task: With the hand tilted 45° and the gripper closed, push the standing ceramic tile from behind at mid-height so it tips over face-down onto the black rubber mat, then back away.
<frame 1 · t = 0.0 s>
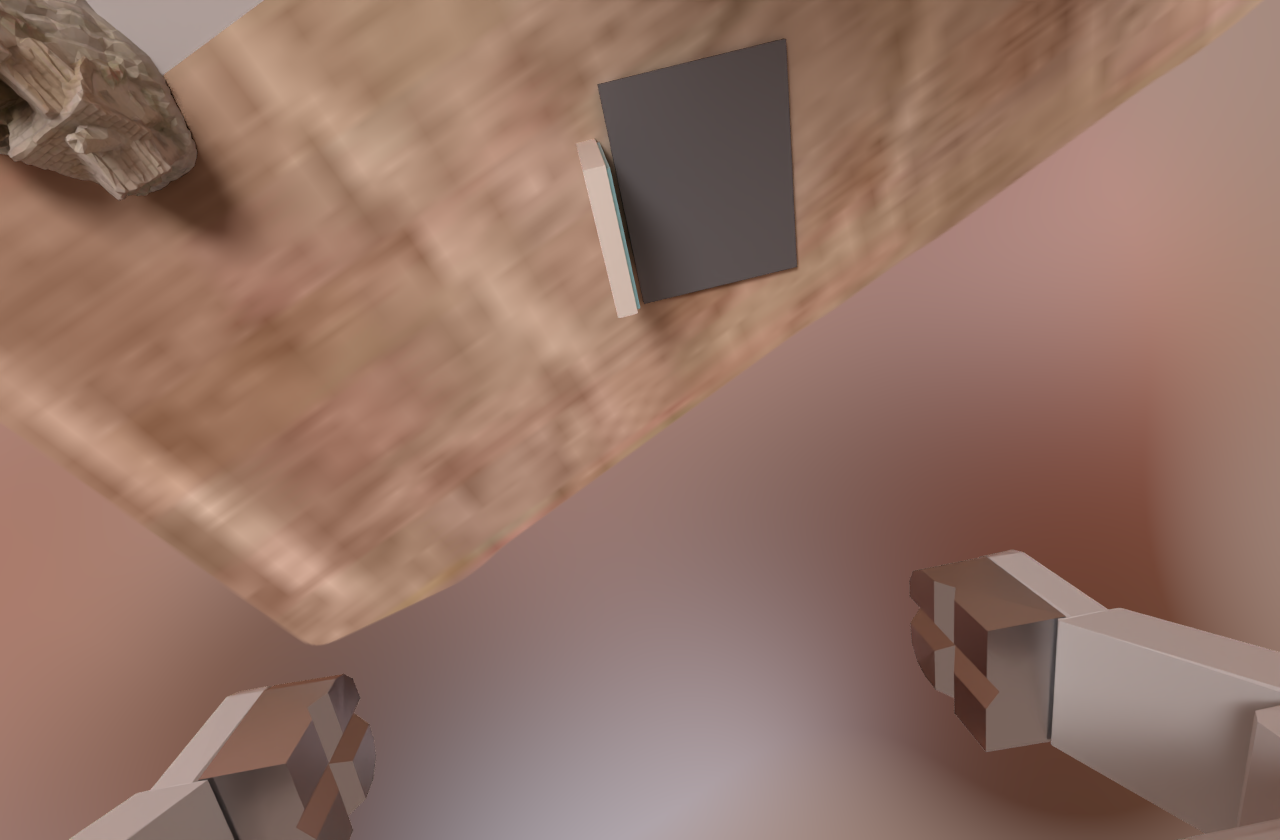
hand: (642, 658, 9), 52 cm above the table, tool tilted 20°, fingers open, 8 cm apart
mat: (706, 183, 56), on the table
tile: (602, 208, 56), on the table
grey lumpy piece: (60, 98, 46), on the table
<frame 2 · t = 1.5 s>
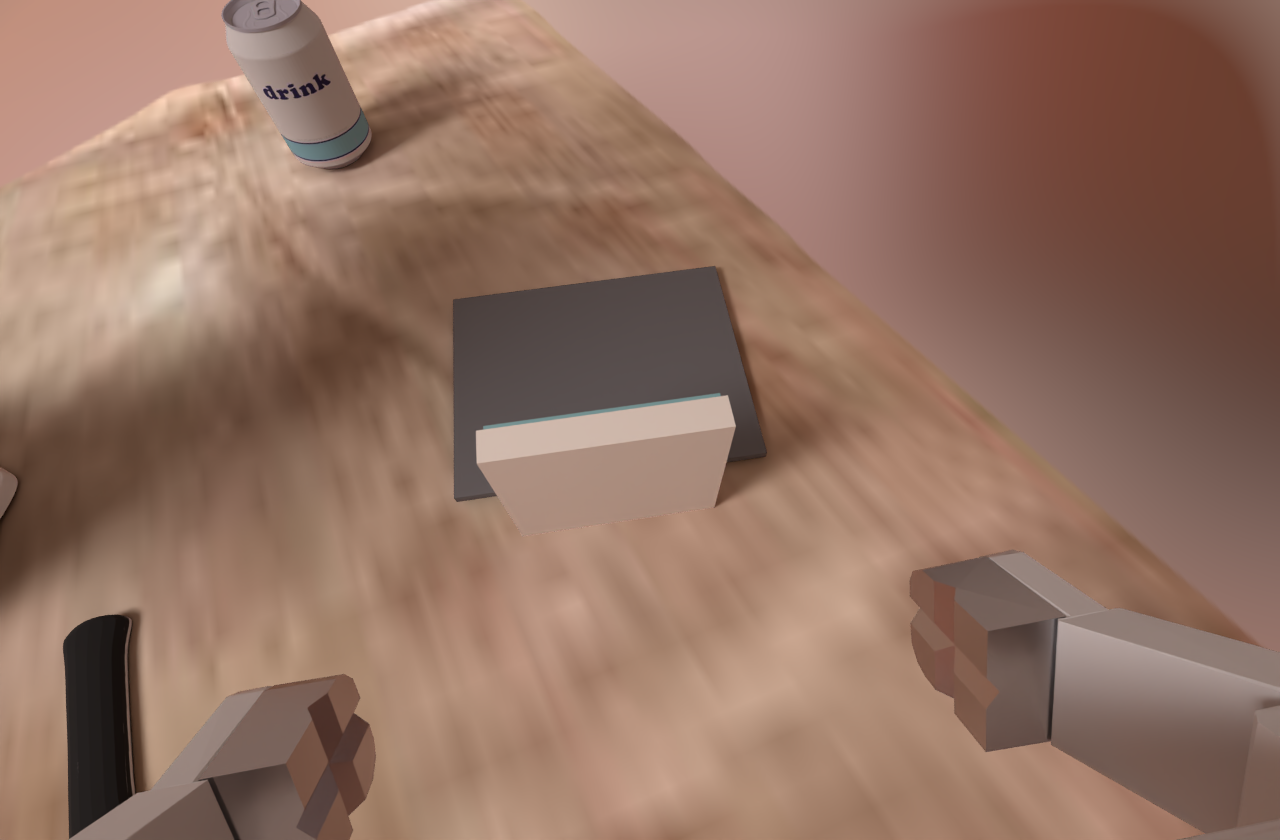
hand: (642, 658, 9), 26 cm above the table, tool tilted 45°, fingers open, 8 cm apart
mat: (598, 374, 42), on the table
beverage can: (338, 152, 54), on the table
tile: (617, 506, 38), on the table
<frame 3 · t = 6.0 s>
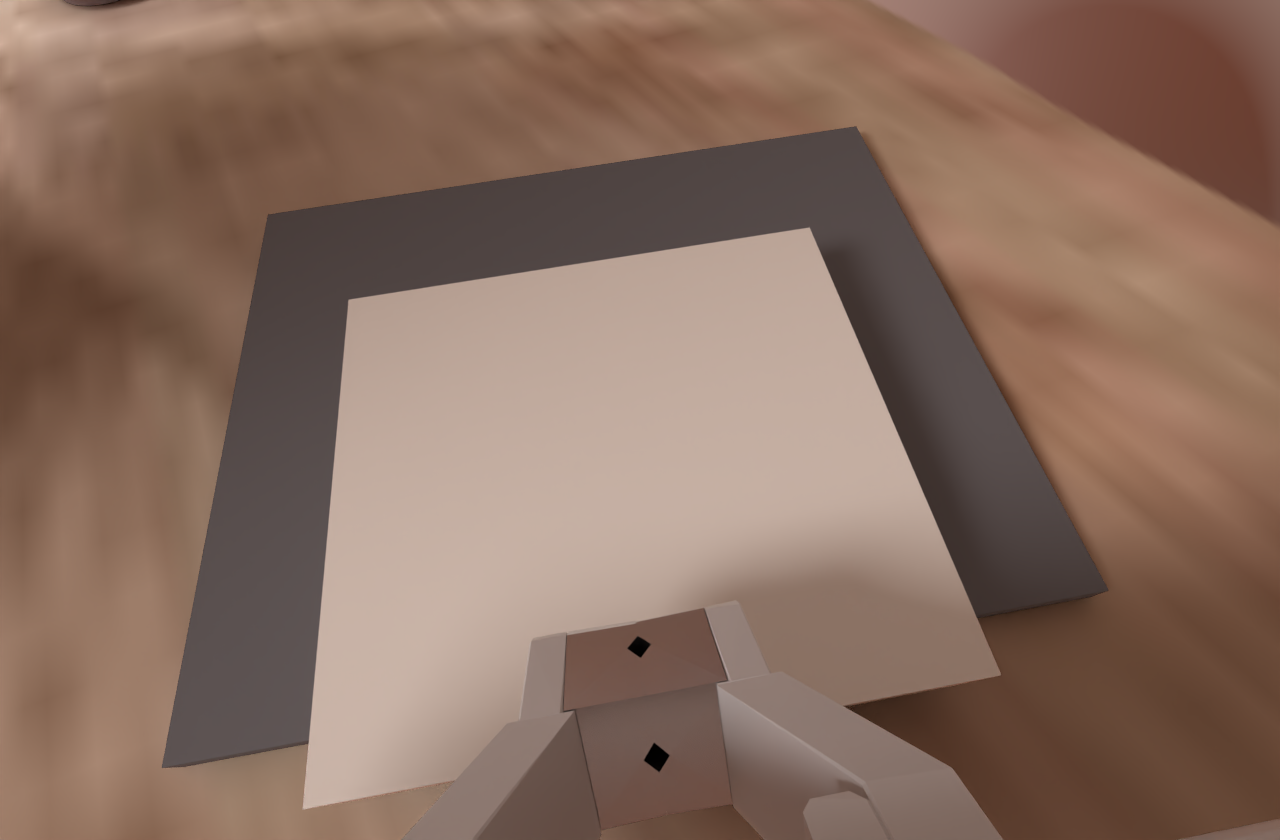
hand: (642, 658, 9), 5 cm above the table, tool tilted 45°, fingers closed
mat: (602, 375, 17), on the table
tile: (661, 741, 11), point 2 cm above the table, tilted 90°, touching mat
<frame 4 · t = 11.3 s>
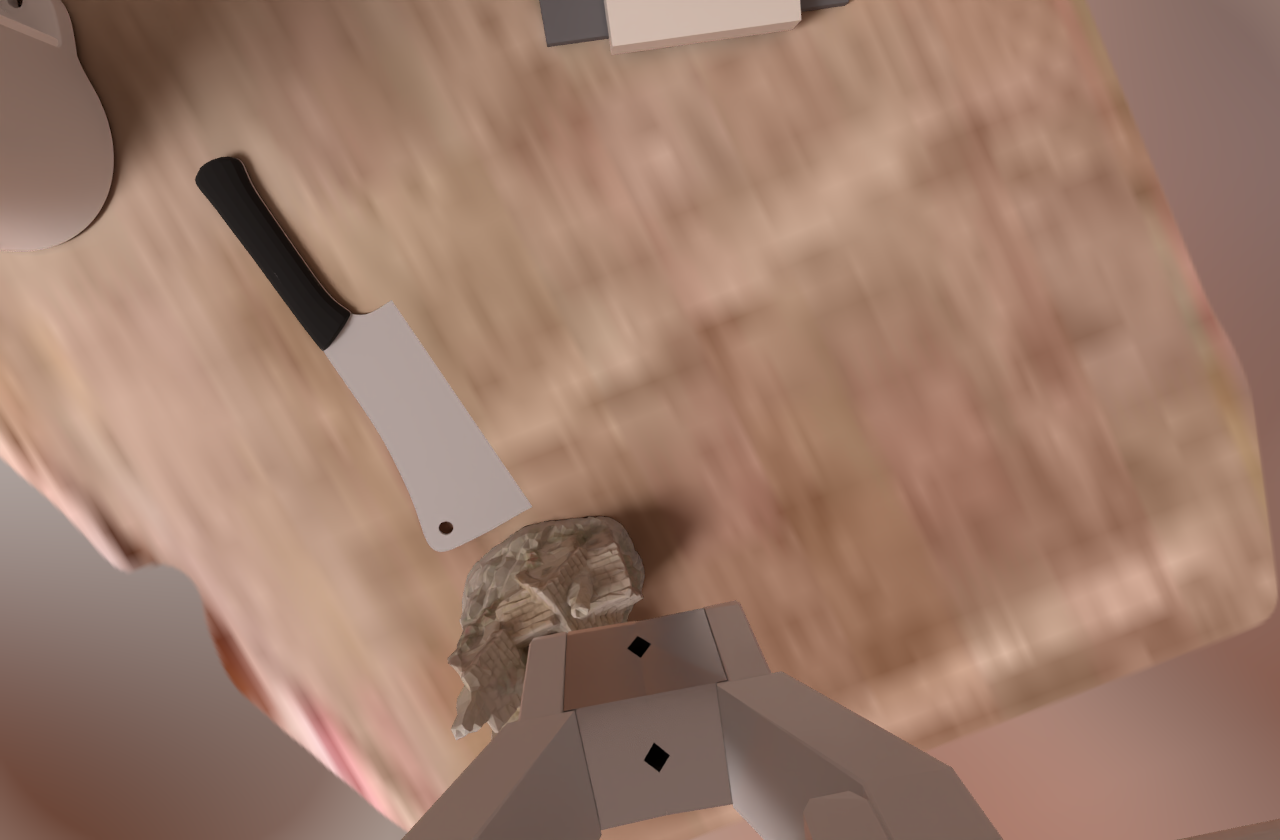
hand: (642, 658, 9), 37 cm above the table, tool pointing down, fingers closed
kitchen cleaver: (385, 354, 44), on the table
tile: (704, 38, 38), point 2 cm above the table, tilted 90°, touching mat
grey lumpy piece: (560, 608, 51), on the table
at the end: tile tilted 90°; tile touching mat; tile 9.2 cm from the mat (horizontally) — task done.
